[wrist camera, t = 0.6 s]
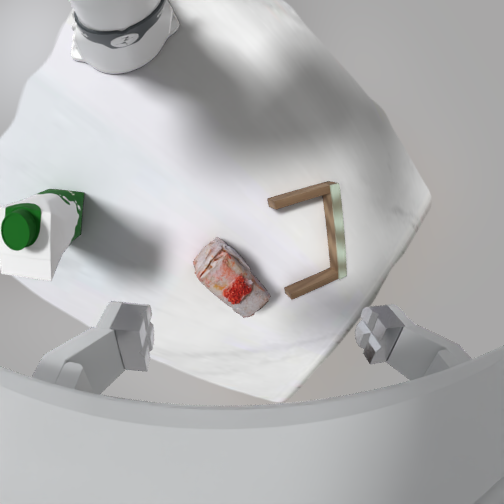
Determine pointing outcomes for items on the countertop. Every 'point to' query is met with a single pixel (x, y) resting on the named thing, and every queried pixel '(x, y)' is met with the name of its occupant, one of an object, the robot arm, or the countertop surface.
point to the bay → (333, 232)
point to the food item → (230, 278)
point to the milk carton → (39, 232)
